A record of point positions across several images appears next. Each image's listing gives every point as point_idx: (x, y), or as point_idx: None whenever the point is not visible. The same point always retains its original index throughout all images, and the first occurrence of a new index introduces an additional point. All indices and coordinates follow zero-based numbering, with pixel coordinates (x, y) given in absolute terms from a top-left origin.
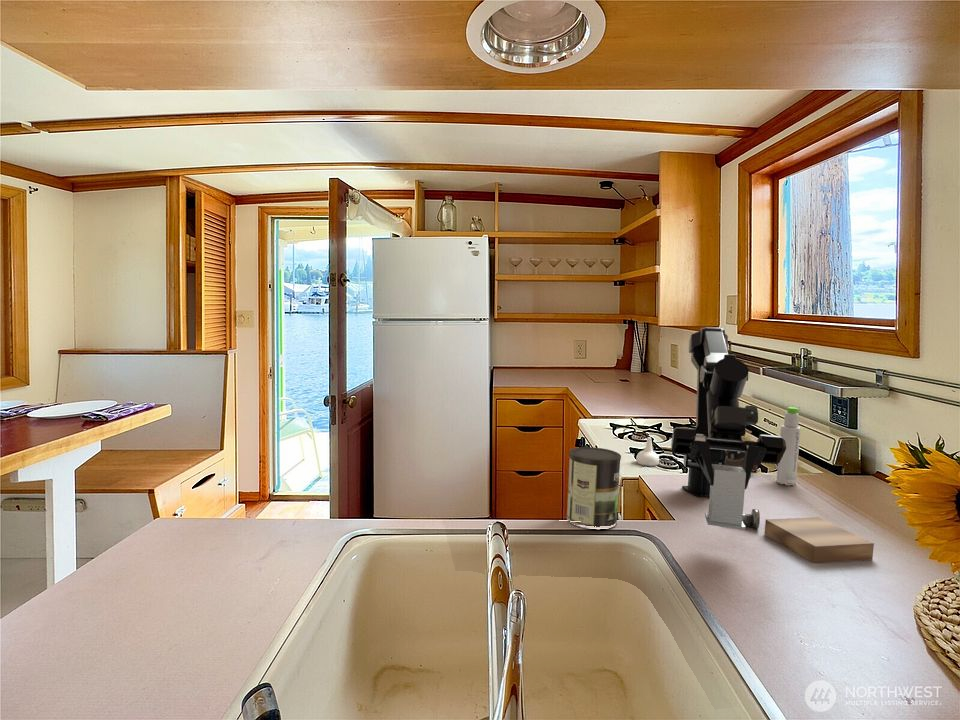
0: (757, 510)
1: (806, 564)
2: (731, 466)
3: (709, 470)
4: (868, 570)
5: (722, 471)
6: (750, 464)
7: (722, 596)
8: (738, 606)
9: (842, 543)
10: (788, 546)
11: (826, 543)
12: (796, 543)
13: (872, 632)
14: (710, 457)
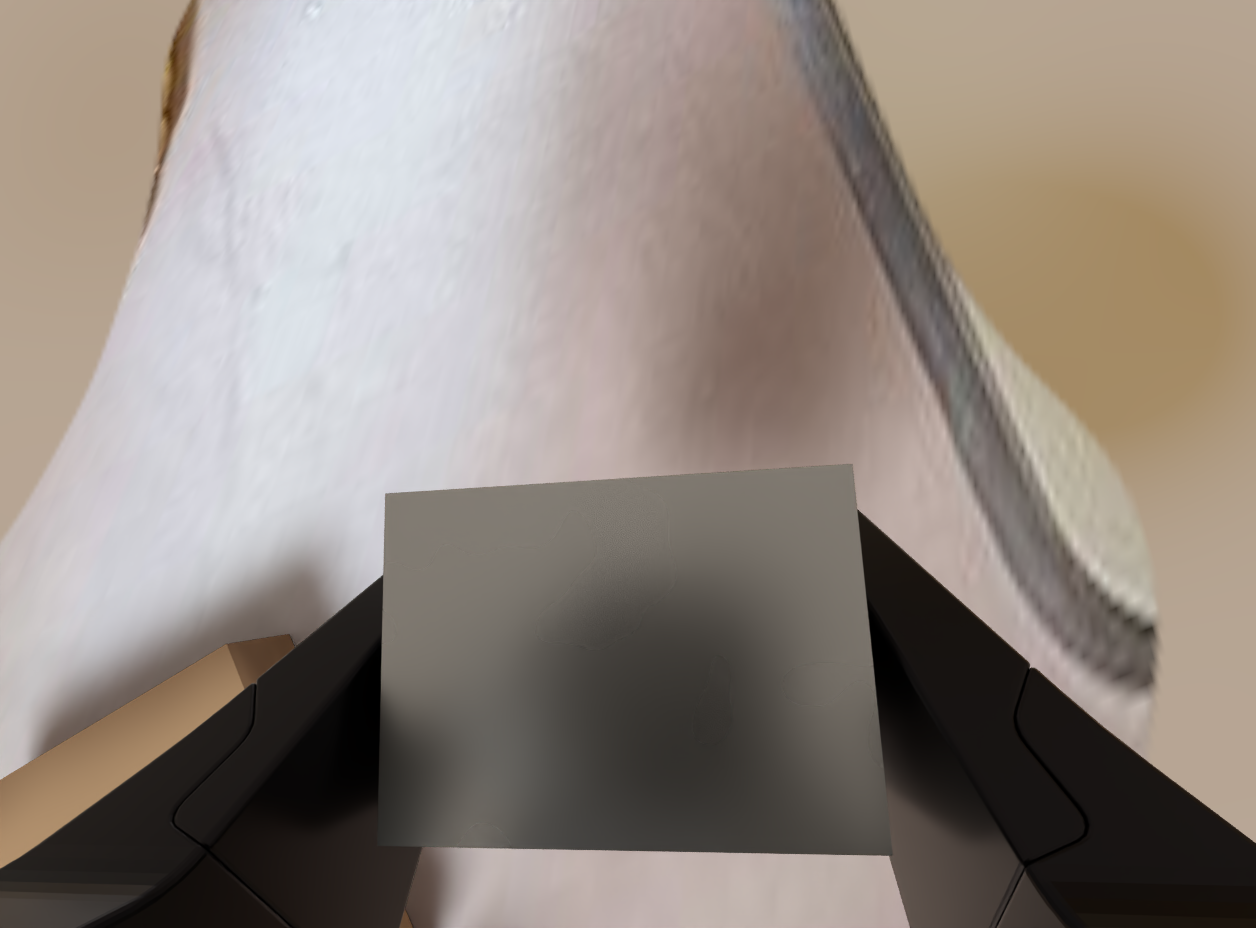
0: None
1: (326, 605)
2: (548, 810)
3: (917, 588)
4: (92, 652)
5: (724, 476)
6: (216, 750)
7: (728, 132)
8: (676, 88)
9: (78, 751)
10: None
11: (157, 715)
12: None
13: (287, 134)
14: (994, 816)
